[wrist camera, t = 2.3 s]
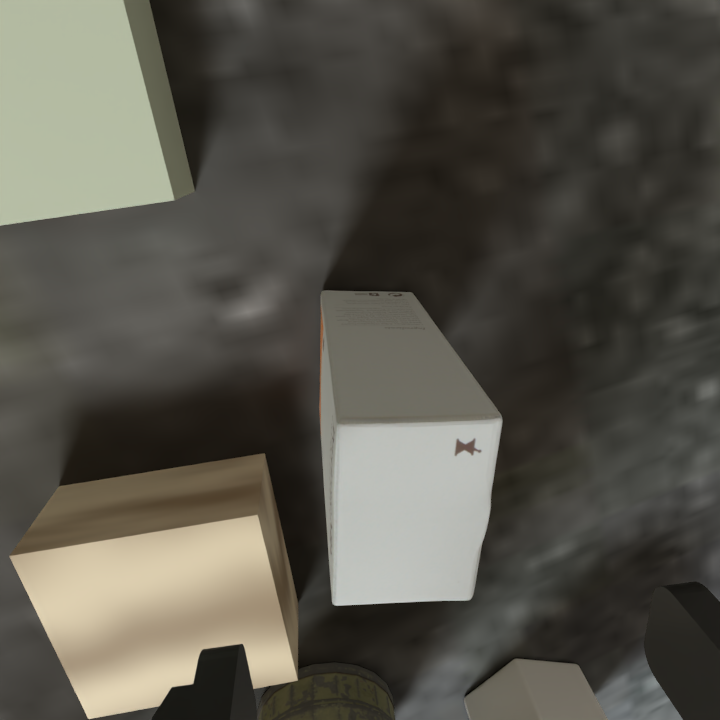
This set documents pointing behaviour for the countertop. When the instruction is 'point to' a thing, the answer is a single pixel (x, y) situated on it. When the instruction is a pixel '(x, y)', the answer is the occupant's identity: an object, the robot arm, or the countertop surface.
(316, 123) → the countertop surface
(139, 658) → the beech block
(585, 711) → the jar
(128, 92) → the sage block
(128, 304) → the countertop surface
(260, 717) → the thermos
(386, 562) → the skincare box
